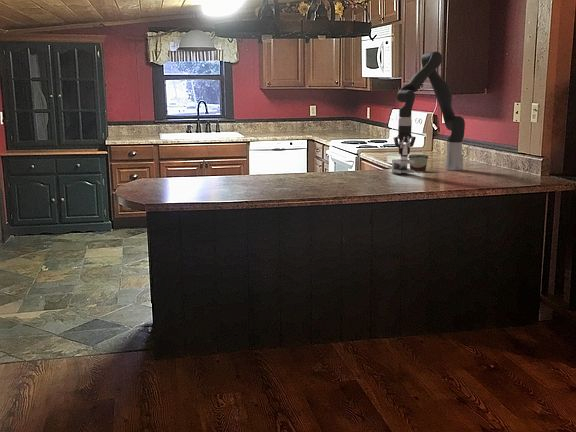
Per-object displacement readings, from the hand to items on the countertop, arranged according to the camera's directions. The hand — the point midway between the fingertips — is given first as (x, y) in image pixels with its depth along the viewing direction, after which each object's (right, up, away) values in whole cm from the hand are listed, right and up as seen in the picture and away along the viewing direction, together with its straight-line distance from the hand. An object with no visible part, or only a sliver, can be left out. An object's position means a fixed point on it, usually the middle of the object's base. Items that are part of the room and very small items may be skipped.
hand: (404, 154), depth 381 cm
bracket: (-1, -12, +4) cm, 12 cm away
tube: (0, -10, +2) cm, 10 cm away
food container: (+12, -8, +21) cm, 25 cm away
